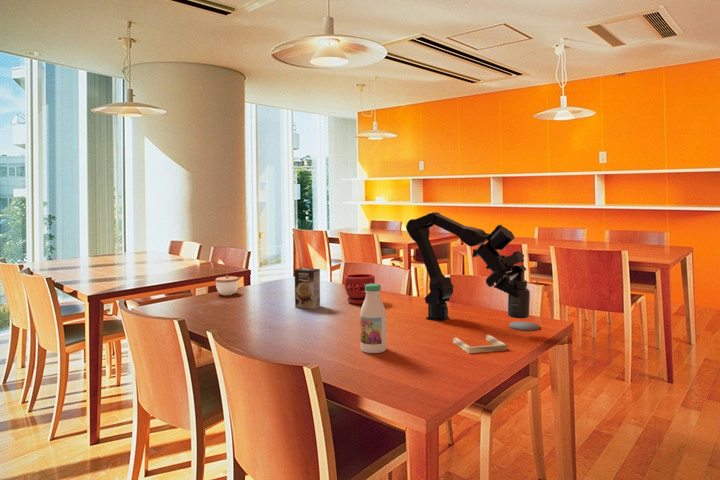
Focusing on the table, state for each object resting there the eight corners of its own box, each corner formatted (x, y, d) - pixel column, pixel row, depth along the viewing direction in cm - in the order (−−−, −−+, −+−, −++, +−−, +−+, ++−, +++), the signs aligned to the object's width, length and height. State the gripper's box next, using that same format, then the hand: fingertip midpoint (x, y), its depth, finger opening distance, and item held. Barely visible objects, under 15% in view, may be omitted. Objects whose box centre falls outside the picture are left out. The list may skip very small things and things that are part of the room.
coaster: (504, 327, 171) (504, 326, 171) (515, 321, 179) (515, 320, 178) (533, 332, 164) (533, 330, 164) (543, 326, 172) (543, 324, 172)
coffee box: (294, 307, 206) (293, 269, 205) (302, 304, 212) (301, 267, 211) (313, 309, 203) (313, 270, 201) (321, 305, 209) (320, 268, 207)
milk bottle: (369, 344, 154) (369, 281, 152) (391, 348, 149) (390, 283, 147) (355, 351, 147) (354, 285, 146) (377, 355, 143) (376, 287, 141)
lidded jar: (212, 296, 233) (211, 276, 232) (222, 291, 243) (221, 273, 242) (233, 296, 231) (232, 276, 230) (242, 292, 241) (242, 273, 240)
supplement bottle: (533, 317, 160) (535, 281, 159) (517, 319, 158) (518, 282, 156) (519, 313, 167) (520, 278, 165) (503, 314, 164) (504, 279, 163)
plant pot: (380, 300, 217) (380, 274, 216) (364, 306, 206) (364, 278, 205) (355, 297, 224) (355, 271, 223) (339, 303, 213) (338, 276, 212)
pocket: (453, 342, 155) (453, 337, 155) (489, 339, 157) (489, 334, 157) (468, 353, 144) (468, 348, 144) (506, 350, 146) (507, 345, 146)
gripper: (495, 245, 156) (527, 284, 149) (521, 241, 169) (552, 276, 163) (472, 267, 162) (502, 305, 155) (499, 261, 175) (528, 296, 169)
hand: (522, 295), depth 161 cm, fingers closed on supplement bottle, 7 cm apart
